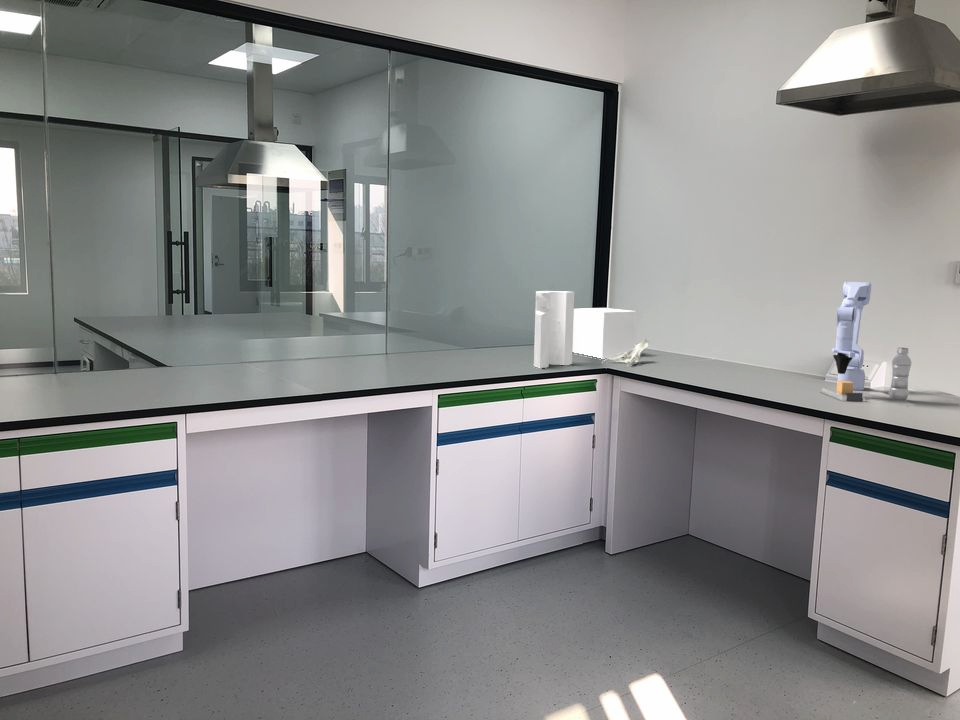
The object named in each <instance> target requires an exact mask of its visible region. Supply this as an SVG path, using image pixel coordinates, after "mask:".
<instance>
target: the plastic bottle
mask: <svg viewBox="0 0 960 720" xmlns="http://www.w3.org/2000/svg"><path fill="white" fill-rule="evenodd" d="M896 349H897V350H896V353H897V354H896V355H895V356H894V358H893V359H892V361H891V366H892V374H891V375H892V377H891V378H892V379H891V383H890V388H889V390H888V397H889V398H890V399H892V400H899V401H906V400H907V399H908V397H909V376H910V375H909V374H910V371H911V370H910V369H911V367H912V359H911V357H909V355H908V354H909V348H908V347H897V348H896Z"/></svg>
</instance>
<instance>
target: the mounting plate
mask: <svg viewBox="0 0 960 720" xmlns="http://www.w3.org/2000/svg"><path fill="white" fill-rule="evenodd" d="M836 391H837V390H833V389H831V388H828V387H822V388H821V391H820V392H819V394H822V395H825V396H827V397H830V398H832V399H834V400H837V401H838V402H851V403H852V402H853V403H854V402H856V403H860V402H861V403H864V402H866V403H867V400H866V398H865V397H863V395H864V394H863V392H853V393H846V395H844V394H841V393H839V392H836Z"/></svg>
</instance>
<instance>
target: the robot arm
mask: <svg viewBox="0 0 960 720" xmlns="http://www.w3.org/2000/svg"><path fill="white" fill-rule="evenodd" d="M871 294H872V283H871V282H870V281H868V282H863V281H847V280H846V281H844V282H843V286H842V296H843V297H842V298H843V300H842V303H841V304H840V306H839V307H837V308H836V315H835V316H836V317H835V318H836V324H835V325H836V336H835V337H836V338H835V347H834V346H833V347H831V353H835V354H833V359H834V363H835V364H834V365H835V366H836V369H837V381H850V382H853V383H854V385H853V391H864V390H865V384H866V383H865V381H866V379H865V378H866V373H865V371H864V370H863V369H862V368H863V366H864V353H865V352H864V349H863V348H861V346H860V345H858V342H859V336H860V335H859V333H860V329H861V327H860V326H861V319H862V311H863V309H864V306H866V305H869V303H870V301H871Z"/></svg>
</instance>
